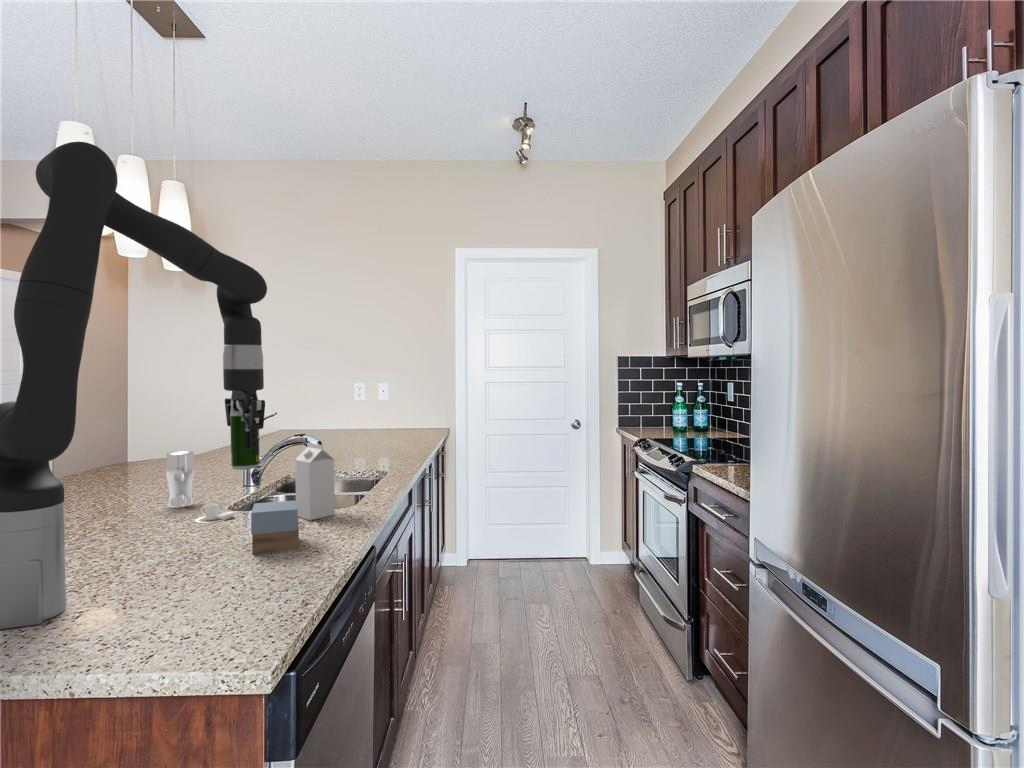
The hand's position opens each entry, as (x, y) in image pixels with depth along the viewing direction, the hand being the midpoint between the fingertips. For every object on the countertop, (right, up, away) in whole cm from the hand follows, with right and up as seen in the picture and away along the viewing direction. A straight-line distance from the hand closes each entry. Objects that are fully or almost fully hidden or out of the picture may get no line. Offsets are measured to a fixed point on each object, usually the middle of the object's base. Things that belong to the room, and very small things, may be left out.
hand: (245, 448), depth 116 cm
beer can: (0, -4, 0) cm, 4 cm away
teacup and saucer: (-20, -22, +26) cm, 39 cm away
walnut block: (+4, -22, +6) cm, 23 cm away
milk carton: (+4, -22, +31) cm, 38 cm away
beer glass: (-39, -21, +42) cm, 61 cm away
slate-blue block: (+4, -18, +5) cm, 19 cm away
